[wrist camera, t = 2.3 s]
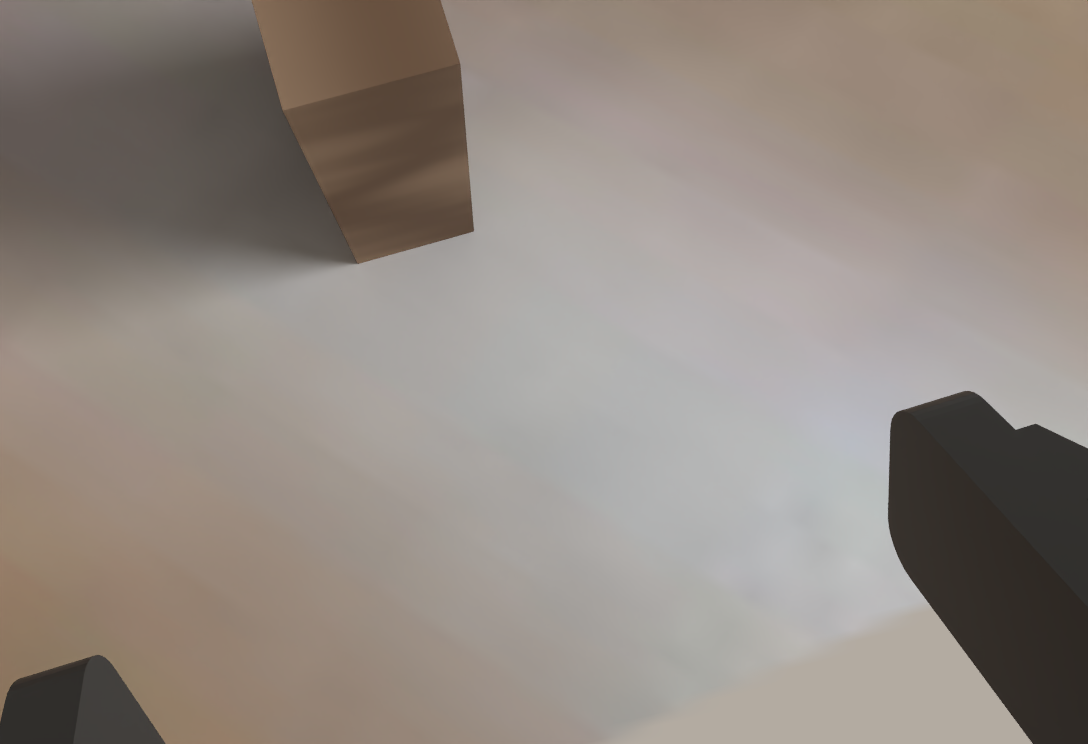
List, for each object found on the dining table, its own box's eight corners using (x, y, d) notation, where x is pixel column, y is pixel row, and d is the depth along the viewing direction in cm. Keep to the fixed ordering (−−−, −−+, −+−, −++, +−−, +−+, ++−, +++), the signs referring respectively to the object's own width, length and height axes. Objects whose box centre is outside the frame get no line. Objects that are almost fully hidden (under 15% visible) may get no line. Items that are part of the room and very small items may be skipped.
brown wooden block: (358, 264, 26) (282, 110, 17) (295, 47, 27) (194, -206, 18) (473, 231, 26) (459, 63, 17) (408, 18, 27) (363, -246, 18)
